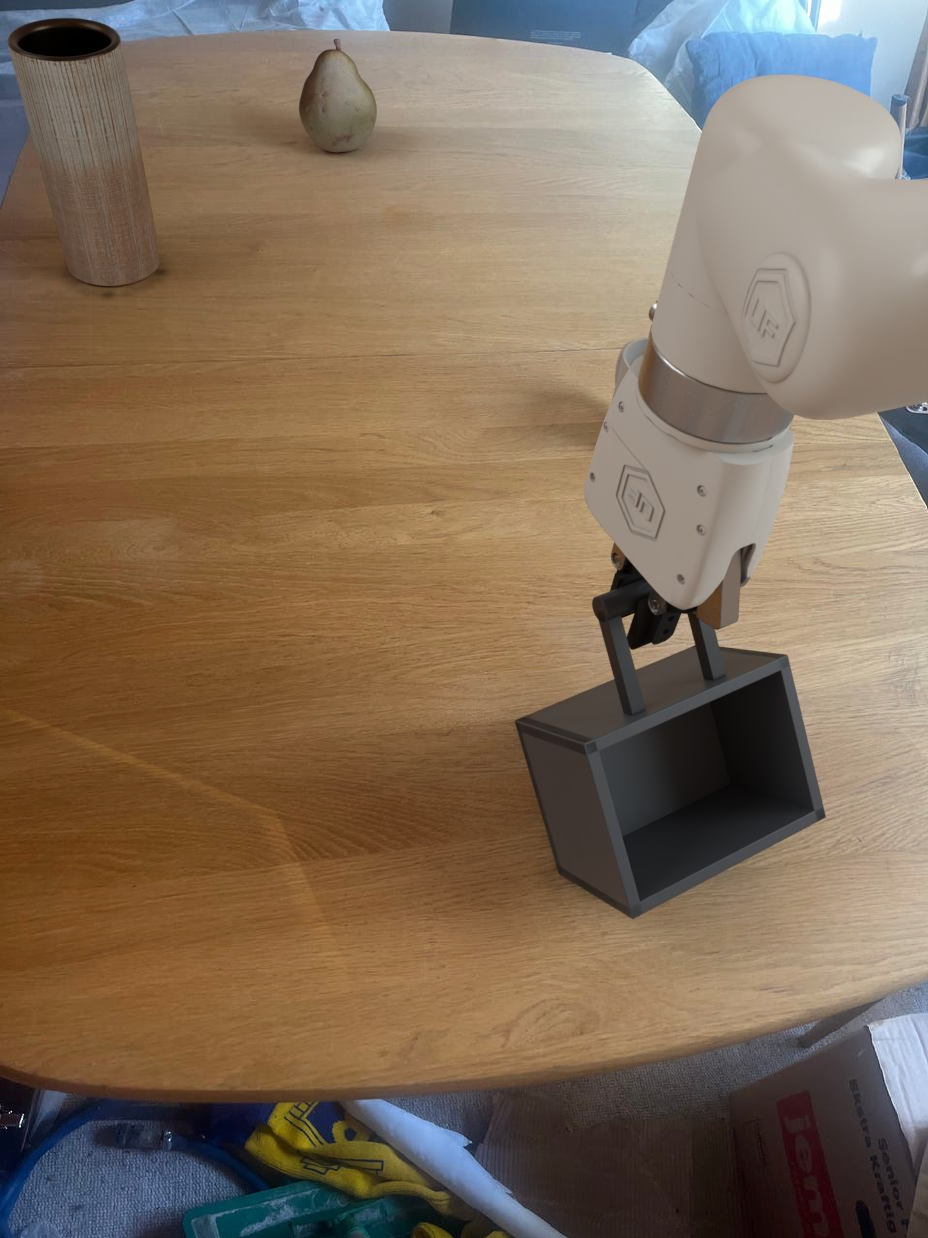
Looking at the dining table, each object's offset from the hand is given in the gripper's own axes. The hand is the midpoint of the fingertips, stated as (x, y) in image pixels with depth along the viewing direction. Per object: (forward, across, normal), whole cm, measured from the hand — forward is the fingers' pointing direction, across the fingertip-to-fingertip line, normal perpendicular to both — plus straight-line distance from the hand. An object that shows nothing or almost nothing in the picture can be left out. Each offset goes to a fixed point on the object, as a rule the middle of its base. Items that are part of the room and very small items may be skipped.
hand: (637, 624), depth 59 cm
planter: (+15, -76, -14) cm, 79 cm away
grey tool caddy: (+8, +1, 0) cm, 8 cm away
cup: (+15, -30, +24) cm, 41 cm away
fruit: (+15, -94, +21) cm, 98 cm away
